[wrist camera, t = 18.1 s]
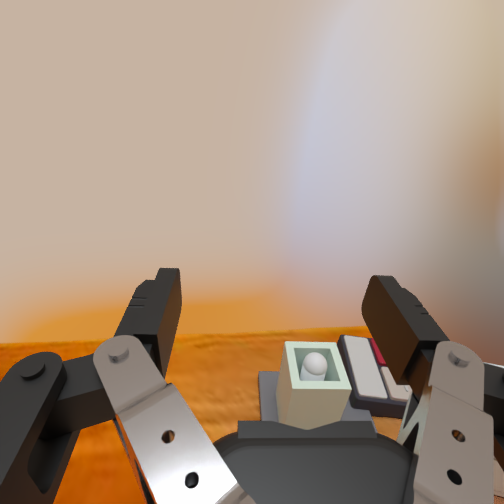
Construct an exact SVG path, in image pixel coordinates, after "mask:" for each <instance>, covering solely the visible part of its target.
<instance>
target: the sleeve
mask: <svg viewBox="0 0 504 504" xmlns="http://www.w3.org/2000/svg"><path fill="white" fill-rule="evenodd" d="M313 352H316V353H319V354H321V355H323V356H324V358H325V359H326V361H327V371H326V375H325V378H324V381H300V373H301V369H302V365H303V360H304V358H305V357H306V356H307V355H308V354H309V353H313ZM351 390H352V388H351V385H350V382H349V380H348V377H347V374H346V371H345V368H344V365H343V362H342V359H341V356H340V353H339V351H338V348H337V345H336V343H335V342H288V341H285V344H284V349H283V355H282V361H281V367H280V372H279V378H278V384H277V390H276V401H277V410H278V420H279V423H282V424H286V425H290V426H293V427H297V428H301V429H305V430H310V429H313V428H317V427H320V426H323V425H327V424H330V423H334V422H337V421H340V419H341V416H342V414H343V411H344V409H345V406H346V403H347V401H348V398H349V396H350V393H351Z"/></svg>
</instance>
